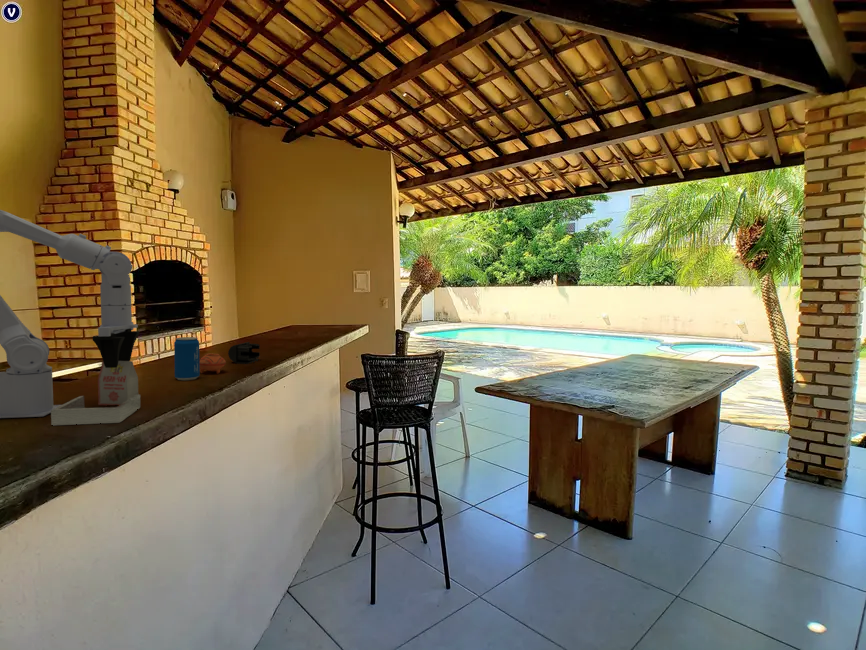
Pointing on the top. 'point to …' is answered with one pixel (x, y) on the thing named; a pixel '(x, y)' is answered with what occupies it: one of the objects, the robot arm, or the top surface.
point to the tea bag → (117, 383)
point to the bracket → (92, 412)
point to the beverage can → (186, 358)
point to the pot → (211, 362)
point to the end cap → (244, 353)
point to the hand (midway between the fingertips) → (118, 364)
